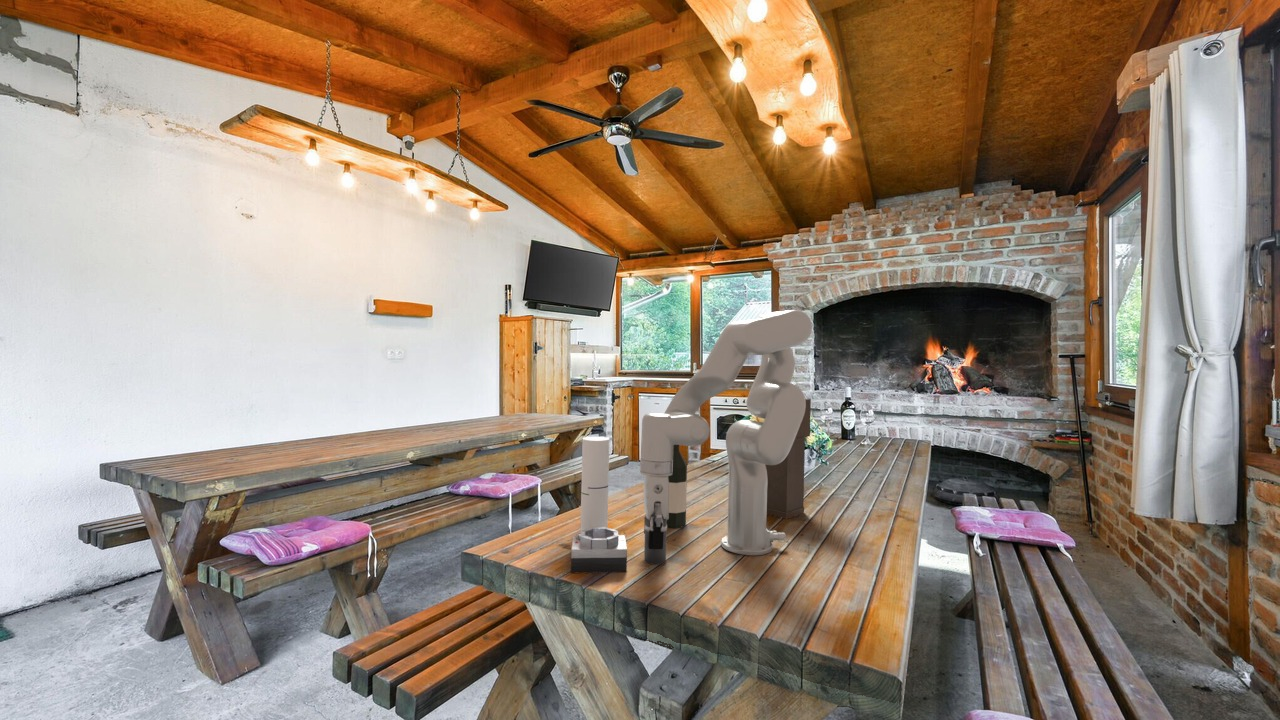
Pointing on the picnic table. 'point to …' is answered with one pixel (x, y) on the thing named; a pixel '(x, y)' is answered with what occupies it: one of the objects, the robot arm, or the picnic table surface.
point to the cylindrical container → (594, 482)
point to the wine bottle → (677, 491)
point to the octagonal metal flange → (599, 551)
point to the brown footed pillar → (789, 476)
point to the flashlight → (654, 554)
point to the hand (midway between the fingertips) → (653, 541)
